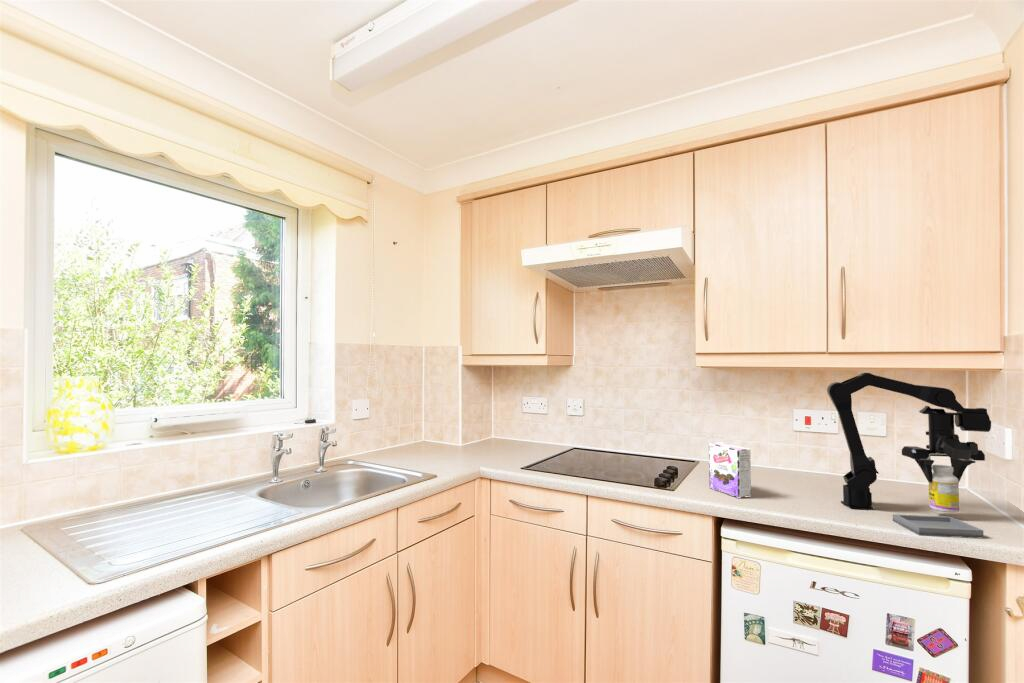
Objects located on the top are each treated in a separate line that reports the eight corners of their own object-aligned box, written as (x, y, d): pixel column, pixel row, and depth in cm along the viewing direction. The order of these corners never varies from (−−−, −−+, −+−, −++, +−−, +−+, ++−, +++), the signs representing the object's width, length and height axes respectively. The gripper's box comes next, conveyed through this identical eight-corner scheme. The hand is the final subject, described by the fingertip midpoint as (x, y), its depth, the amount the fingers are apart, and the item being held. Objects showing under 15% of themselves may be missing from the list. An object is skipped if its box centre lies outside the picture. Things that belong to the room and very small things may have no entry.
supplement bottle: (928, 505, 146) (927, 462, 146) (958, 509, 141) (956, 465, 142) (929, 510, 140) (928, 466, 141) (960, 515, 136) (959, 469, 137)
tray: (919, 535, 126) (919, 527, 126) (892, 521, 137) (892, 514, 137) (983, 538, 124) (983, 530, 124) (951, 523, 135) (951, 516, 135)
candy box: (708, 488, 172) (707, 442, 173) (721, 486, 175) (720, 441, 175) (738, 498, 160) (737, 449, 160) (752, 497, 162) (751, 448, 162)
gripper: (925, 433, 135) (927, 488, 135) (1000, 434, 132) (1002, 491, 132) (899, 427, 146) (901, 478, 146) (968, 428, 143) (970, 481, 143)
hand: (943, 482), depth 141 cm, fingers closed on supplement bottle, 7 cm apart
